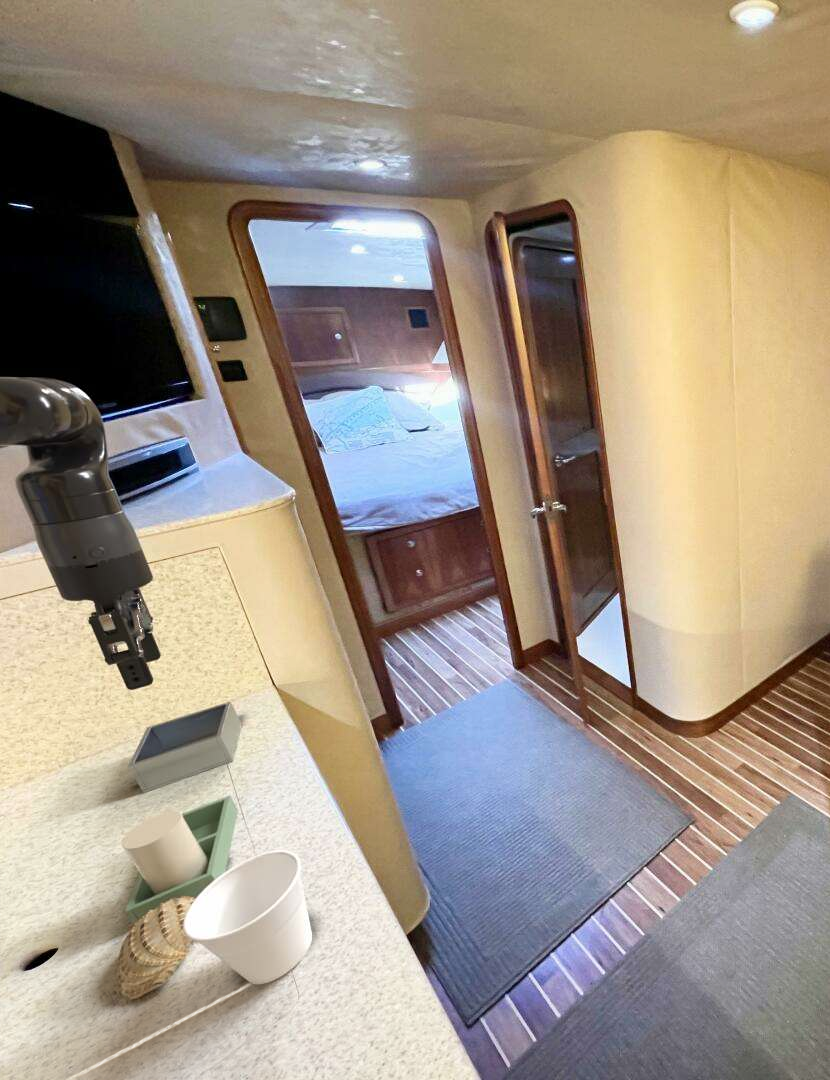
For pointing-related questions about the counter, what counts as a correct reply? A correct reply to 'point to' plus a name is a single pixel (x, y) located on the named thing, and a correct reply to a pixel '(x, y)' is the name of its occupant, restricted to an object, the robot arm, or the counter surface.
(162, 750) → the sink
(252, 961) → the cup
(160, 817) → the cream round block
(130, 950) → the seashell
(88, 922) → the counter surface
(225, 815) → the divided tray
